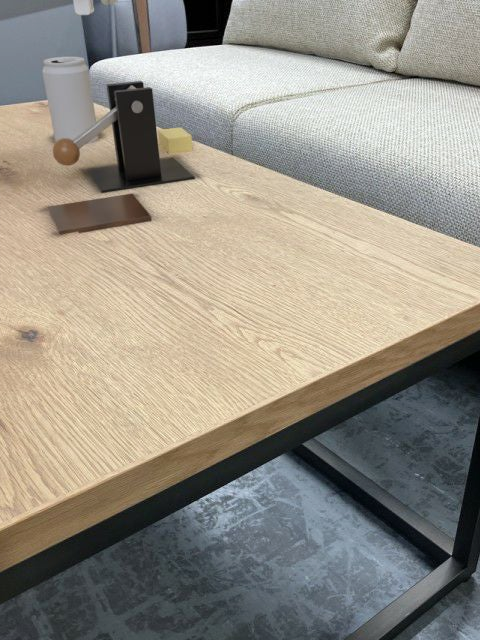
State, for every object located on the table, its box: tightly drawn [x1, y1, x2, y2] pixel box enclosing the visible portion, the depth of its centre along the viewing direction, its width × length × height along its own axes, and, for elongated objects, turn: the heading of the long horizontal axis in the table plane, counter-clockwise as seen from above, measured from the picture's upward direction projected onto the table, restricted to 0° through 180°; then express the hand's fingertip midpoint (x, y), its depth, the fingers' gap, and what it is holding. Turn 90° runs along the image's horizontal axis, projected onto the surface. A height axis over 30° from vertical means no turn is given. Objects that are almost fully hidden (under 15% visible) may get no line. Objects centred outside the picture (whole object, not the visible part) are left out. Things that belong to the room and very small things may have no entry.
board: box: [46, 193, 152, 235], centre depth 79 cm, size 10×8×2 cm
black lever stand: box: [85, 80, 195, 194], centre depth 88 cm, size 12×9×12 cm
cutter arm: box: [52, 85, 136, 167], centre depth 86 cm, size 13×3×3 cm
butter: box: [157, 126, 194, 155], centre depth 101 cm, size 4×5×3 cm
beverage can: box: [42, 56, 100, 145], centre depth 102 cm, size 6×6×12 cm
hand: (98, 9), depth 83 cm, fingers open, 8 cm apart
